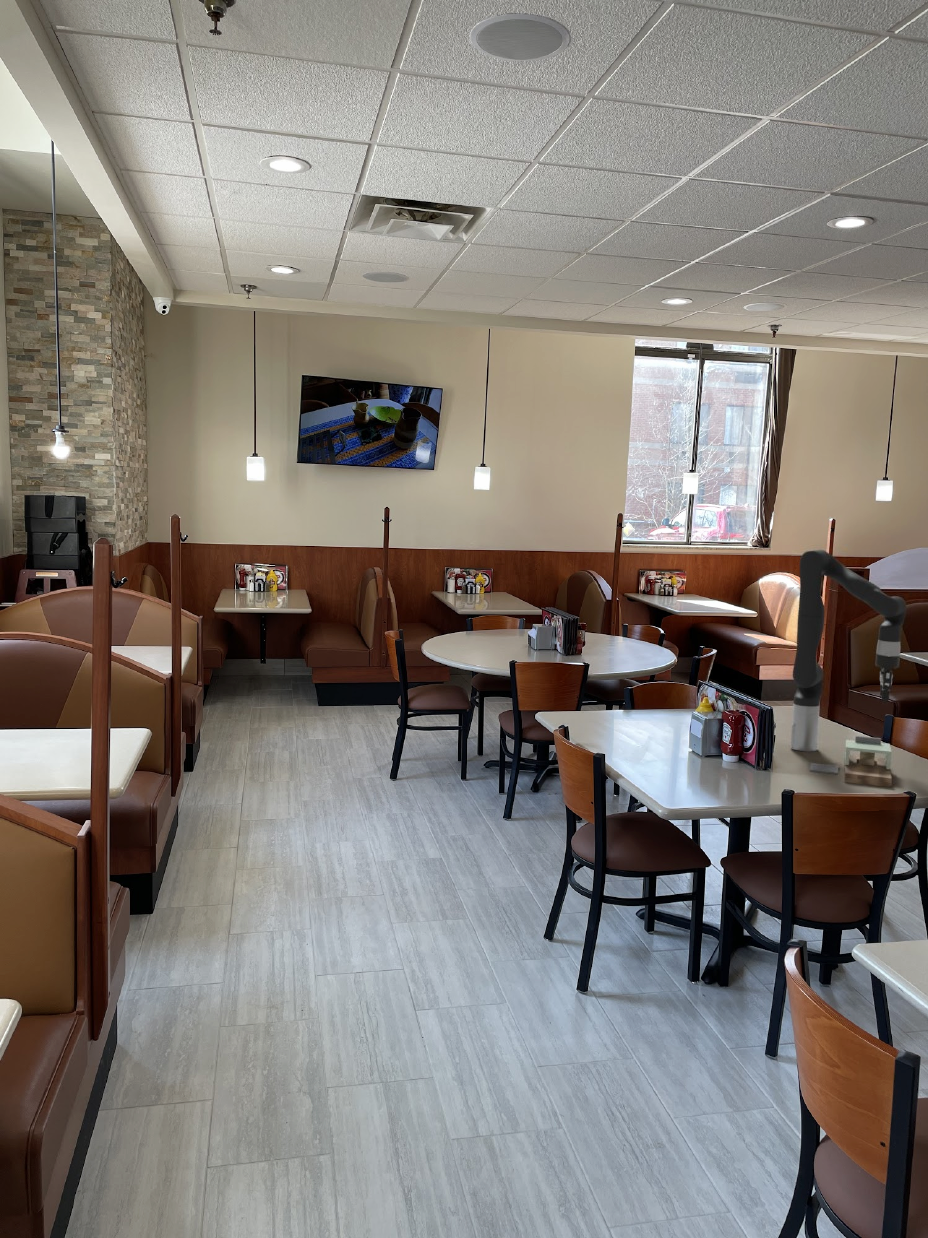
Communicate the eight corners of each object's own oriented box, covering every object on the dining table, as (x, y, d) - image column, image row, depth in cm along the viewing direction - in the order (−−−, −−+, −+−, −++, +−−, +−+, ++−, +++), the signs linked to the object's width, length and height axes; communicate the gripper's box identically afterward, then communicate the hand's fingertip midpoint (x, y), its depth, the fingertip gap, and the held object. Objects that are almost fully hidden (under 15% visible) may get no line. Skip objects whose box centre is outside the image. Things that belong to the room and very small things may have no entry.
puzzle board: (844, 782, 299) (845, 773, 298) (844, 762, 322) (844, 754, 321) (891, 787, 293) (891, 778, 293) (887, 767, 316) (887, 758, 316)
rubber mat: (809, 771, 311) (810, 769, 311) (810, 764, 319) (810, 762, 319) (838, 774, 307) (838, 772, 307) (838, 767, 316) (838, 765, 316)
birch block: (859, 767, 310) (860, 750, 310) (859, 764, 314) (860, 747, 314) (873, 769, 309) (874, 752, 308) (873, 765, 313) (874, 748, 312)
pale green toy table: (845, 764, 307) (846, 741, 306) (844, 756, 317) (846, 734, 316) (890, 769, 302) (891, 745, 301) (888, 761, 312) (890, 738, 311)
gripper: (875, 649, 323) (871, 693, 325) (877, 655, 310) (873, 701, 312) (898, 651, 321) (894, 695, 323) (901, 657, 307) (897, 703, 310)
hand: (884, 698), depth 318 cm, fingers open, 8 cm apart
